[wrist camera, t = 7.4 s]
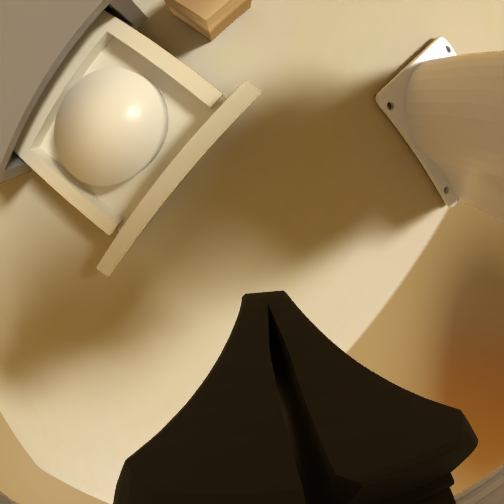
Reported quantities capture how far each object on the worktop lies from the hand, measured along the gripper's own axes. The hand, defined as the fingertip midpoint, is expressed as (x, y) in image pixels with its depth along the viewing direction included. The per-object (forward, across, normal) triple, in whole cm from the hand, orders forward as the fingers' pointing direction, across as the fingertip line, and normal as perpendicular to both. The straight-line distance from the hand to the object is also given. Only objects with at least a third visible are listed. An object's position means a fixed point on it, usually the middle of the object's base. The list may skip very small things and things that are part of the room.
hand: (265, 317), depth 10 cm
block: (+8, +1, -13) cm, 16 cm away
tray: (+8, +7, -7) cm, 13 cm away
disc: (+6, +6, -7) cm, 11 cm away
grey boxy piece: (+8, +12, -13) cm, 20 cm away
